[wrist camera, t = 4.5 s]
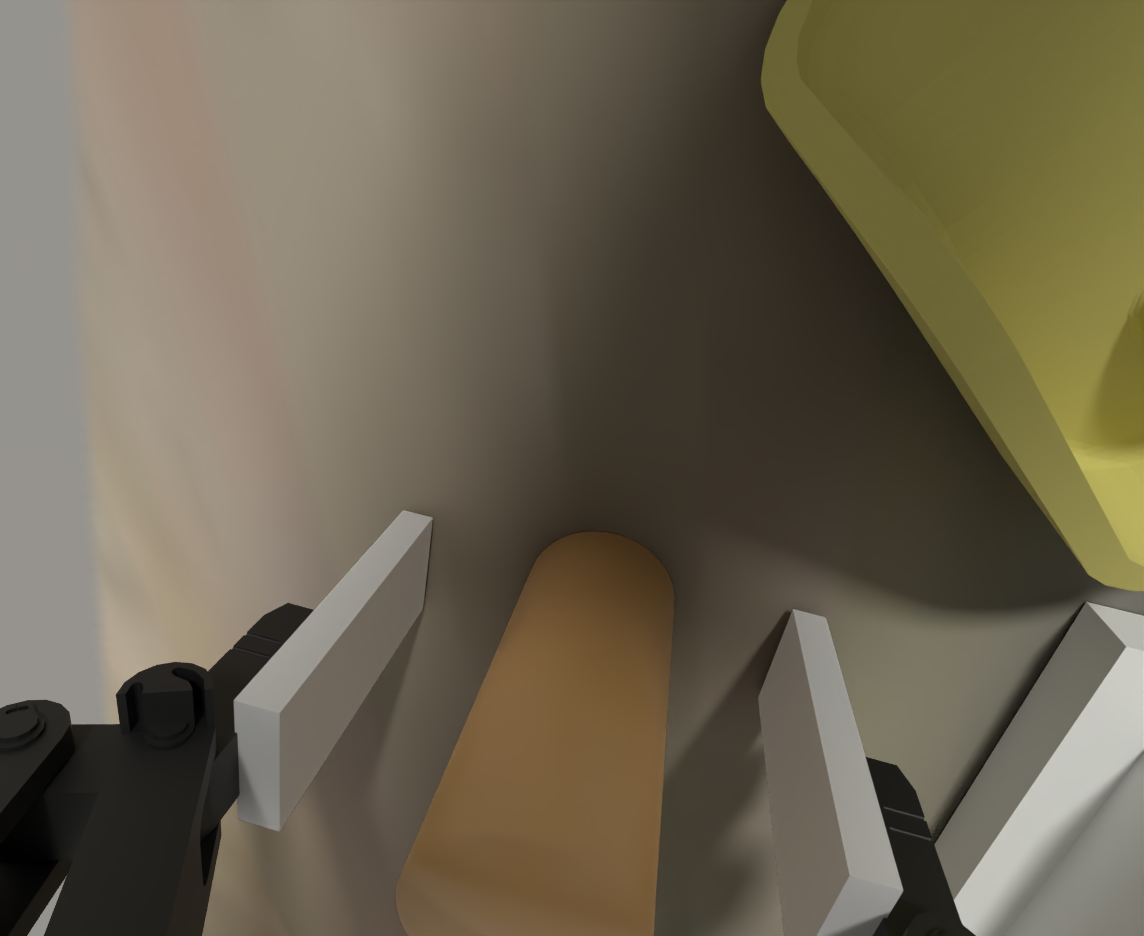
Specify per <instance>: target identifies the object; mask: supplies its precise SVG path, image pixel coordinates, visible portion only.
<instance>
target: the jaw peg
mask: <svg viewBox="0 0 1144 936" xmlns="http://www.w3.org/2000/svg"><path fill="white" fill-rule="evenodd" d="M674 605H675V596H674V589H673V585H672V582H671V579H670V577H669V574H668V573H667V571H666V569H665V568H664V566H663V565H662V563H661V562H660V561H659V560H658V559H657V558H656V557H655V556H654V555H653V554H652V553H651V552H650V551H649V550H647V549H646V548H645V547H644V546H642V545H640V544H639V543H637V542H635V541H633V540H631V539H629V538H626V537H624V536H620V535H617V534H613V533H608V532H598V531H590V532H581V533H575V534H572V535H568V536H566V537H563V538H561V539H559V540H557V541H556V542H554V543H552V544H551V545H550V546H548V547H547V548H546V549H545V550H544V551H543V552H542V553H541V554H540V555H539V556H538V558H537V560H536V561H535V563H534V565H533V567H532V569H531V571H530V574H529V576H528V578H527V581H526V583H525V585H524V588H523V590H522V592H521V595H520V597H519V599H518V602H517V604H516V606H515V609H514V611H513V613H512V616H511V618H510V620H509V623H508V625H507V627H506V630H505V632H504V634H503V637H502V639H501V641H500V644H499V646H498V648H497V651H496V653H495V655H494V658H493V660H492V662H491V665H490V667H489V669H488V672H487V674H486V676H485V679H484V681H483V683H482V686H481V688H480V690H479V693H478V695H477V697H476V700H475V702H474V704H473V707H472V709H471V711H470V714H469V716H468V718H467V720H466V723H465V725H464V727H463V730H462V732H461V734H460V737H459V739H458V741H457V744H456V746H455V748H454V751H453V753H452V755H451V758H450V760H449V762H448V765H447V767H446V769H445V772H444V774H443V776H442V779H441V781H440V783H439V786H438V788H437V790H436V793H435V795H434V797H433V800H432V802H431V804H430V807H429V809H428V811H427V814H426V816H425V818H424V821H423V823H422V825H421V828H420V830H419V832H418V835H417V837H416V839H415V842H414V844H413V846H412V849H411V851H410V853H409V856H408V858H407V860H406V863H405V865H404V867H403V870H402V872H401V874H400V877H399V879H398V882H397V887H396V899H395V902H396V907H397V913H398V915H399V918H400V921H401V924H402V926H403V928H404V929H405V931H406V933H407V935H408V936H654V921H655V905H656V889H657V874H658V858H659V842H660V826H661V810H662V795H663V779H664V763H665V747H666V731H667V716H668V700H669V684H670V668H671V652H672V637H673V621H674Z"/></svg>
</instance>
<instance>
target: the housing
mask: <svg viewBox="0 0 1144 936" xmlns="http://www.w3.org/2000/svg"><path fill="white" fill-rule="evenodd" d="M935 848H936V851H937V854H938V857H939V859H940V862H941V865H942V868H943V871H944V874H945V877H946V879H947V882H948V885H949V888H950V891H951V894H952V897H953V900H954V902H955V905H956V908H957V911H958V914H959V917H960V920H961V922H962V924H963V925H964V926H965V927H966V928H967V929H968V930H970V931H971V932H972V933H973V934H975V935H976V936H1144V616H1142V615H1138V614H1134V613H1130V612H1126V611H1122V610H1117V609H1113V608H1109V607H1105V606H1101V605H1097V604H1093V603H1089V602H1086V603H1085V605H1084V606H1083V608H1082V610H1081V611H1080V613H1079V614H1078V616H1077V618H1076V619H1075V621H1074V622H1073V624H1072V626H1071V627H1070V629H1069V630H1068V632H1067V634H1066V635H1065V637H1064V638H1063V640H1062V642H1061V643H1060V645H1059V646H1058V648H1057V650H1056V651H1055V653H1054V654H1053V656H1052V658H1051V659H1050V661H1049V662H1048V664H1047V666H1046V667H1045V669H1044V670H1043V672H1042V674H1041V675H1040V677H1039V678H1038V680H1037V682H1036V683H1035V685H1034V686H1033V688H1032V690H1031V691H1030V693H1029V694H1028V696H1027V698H1026V699H1025V701H1024V702H1023V704H1022V706H1021V707H1020V709H1019V710H1018V712H1017V713H1016V715H1015V717H1014V718H1013V720H1012V721H1011V723H1010V725H1009V726H1008V728H1007V729H1006V731H1005V733H1004V734H1003V736H1002V737H1001V739H1000V741H999V742H998V744H997V745H996V747H995V749H994V750H993V752H992V753H991V755H990V757H989V758H988V760H987V761H986V763H985V765H984V766H983V768H982V769H981V771H980V773H979V774H978V776H977V777H976V779H975V781H974V782H973V784H972V785H971V787H970V789H969V790H968V792H967V793H966V795H965V797H964V798H963V800H962V801H961V803H960V805H959V806H958V808H957V809H956V811H955V813H954V814H953V816H952V817H951V819H950V821H949V822H948V824H947V825H946V827H945V829H944V830H943V832H942V833H941V835H940V837H939V838H938V840H937V841H936V843H935Z"/></svg>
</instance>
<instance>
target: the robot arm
mask: <svg viewBox="0 0 1144 936" xmlns="http://www.w3.org/2000/svg"><path fill="white" fill-rule="evenodd" d="M432 523H433V518H432V517H428V516H424V515H420V514H417V513H413V512H409V511H405V510H403V511H402V512H401V513H400V514H399V515H398V517H397V518H396V519H395V520H394V521H393V522H392V523H391V524H390V526H389V527H388V528H387V529H386V530H385V531H384V532H383V533H382V535H381V536H380V537H379V538H378V539H377V540H376V541H375V542H374V543H373V545H372V546H371V547H370V548H369V549H368V550H367V551H366V552H365V554H364V555H363V556H362V557H361V558H360V559H359V560H358V561H357V563H356V564H355V565H354V566H353V567H352V568H351V569H350V570H349V572H348V573H347V574H346V575H345V576H344V577H343V578H342V579H341V580H340V582H339V583H338V584H337V585H336V586H335V587H334V588H333V589H332V591H331V592H330V593H329V594H328V595H327V596H326V597H325V598H324V600H323V601H322V602H321V603H320V604H319V605H318V606H317V607H316V609H315V610H312V609H308V608H305V607H301V606H297V605H294V604H290V603H287V604H285V605H283V606H281V607H279V608H277V609H275V610H273V611H271V612H269V613H267V614H265V615H264V616H263V617H262V618H261V619H260V620H259V621H258V622H257V623H256V624H255V625H254V626H253V627H252V628H251V629H250V630H249V631H248V632H247V635H246V636H245V635H244V636H243V637H242V638H241V639H240V640H239V641H238V642H237V643H236V644H235V645H234V647H233V649H232V650H231V649H230V650H229V651H228V652H227V653H226V654H225V655H224V656H223V657H222V658H221V659H220V660H219V661H218V662H217V663H216V664H215V665H214V666H213V667H212V668H211V669H210V670H209V671H208V672H207V670H206V669H204V668H202V667H200V666H197V665H195V664H193V663H181V662H173V663H167V664H160V665H156V666H153V667H151V668H148V669H146V670H143V671H141V672H139V673H137V674H136V675H134V676H133V677H132V678H130V679H129V680H127V681H126V682H125V683H124V684H123V685H122V687H121V688H120V690H119V691H118V692H117V694H116V699H117V706H118V714H119V721H120V724H94V725H93V724H91V725H89V724H87V725H71V720H70V714H69V711H68V710H67V709H65V708H64V707H63V706H62V705H61V704H59V703H56V702H52V701H48V700H27V701H23V702H19V703H15V704H11V705H7V706H5V707H2V708H0V936H27V935H28V933H29V932H30V930H31V929H32V927H33V926H34V924H35V923H36V921H37V920H38V918H39V917H40V915H41V914H42V912H43V910H44V909H45V907H46V906H47V905H48V903H49V901H50V900H51V898H52V897H53V895H54V894H55V892H56V891H57V889H58V888H59V886H60V885H61V883H62V882H63V880H64V879H65V877H66V876H67V877H66V879H65V882H64V885H63V887H62V890H61V893H60V895H59V898H58V900H57V903H56V906H55V908H54V911H53V913H52V916H51V919H50V921H49V924H48V926H47V929H46V932H45V934H44V936H202V933H203V927H204V922H205V917H206V912H207V907H208V902H209V896H210V891H211V886H212V881H213V876H214V870H215V865H216V860H217V855H218V850H219V845H220V839H221V819H222V818H223V816H224V815H225V814H226V812H227V811H228V810H229V808H230V807H231V806H232V804H233V803H234V801H235V800H236V799H237V801H238V820H241V821H245V822H248V823H251V824H255V825H258V826H261V827H265V828H268V829H271V830H275V831H278V832H280V830H281V829H282V827H283V826H284V824H285V823H286V821H287V820H288V818H289V816H290V815H291V813H292V812H293V810H294V809H295V807H296V806H297V804H298V802H299V801H300V799H301V798H302V796H303V795H304V793H305V792H306V790H307V788H308V787H309V785H310V784H311V782H312V781H313V779H314V778H315V776H316V774H317V773H318V771H319V770H320V768H321V767H322V765H323V764H324V762H325V760H326V759H327V757H328V756H329V754H330V753H331V751H332V750H333V748H334V746H335V745H336V743H337V742H338V740H339V739H340V737H341V736H342V734H343V732H344V731H345V729H346V728H347V726H348V725H349V723H350V722H351V720H352V718H353V717H354V715H355V714H356V712H357V711H358V709H359V708H360V706H361V704H362V703H363V701H364V700H365V698H366V697H367V695H368V694H369V692H370V690H371V689H372V687H373V686H374V684H375V683H376V681H377V679H378V678H379V676H380V675H381V673H382V672H383V670H384V669H385V667H386V665H387V664H388V662H389V661H390V659H391V658H392V656H393V655H394V653H395V651H396V650H397V648H398V647H399V645H400V644H401V642H402V641H403V639H404V637H405V636H406V634H407V633H408V631H409V630H410V628H411V627H412V625H413V623H414V622H415V620H416V619H417V617H418V616H419V614H420V613H421V611H422V609H423V604H424V595H425V586H426V577H427V568H428V559H429V550H430V541H431V532H432ZM758 702H759V711H760V720H761V730H762V739H763V748H764V757H765V766H766V775H767V785H768V794H769V803H770V812H771V821H772V830H773V839H774V849H775V858H776V867H777V876H778V885H779V894H780V904H781V913H782V922H783V931H784V936H976V935H975V934H973V933H972V932H971V931H970V930H968V929H967V928H966V927H965V926H964V925H963V924H962V922H961V920H960V917H959V914H958V911H957V908H956V905H955V902H954V900H953V897H952V894H951V891H950V888H949V885H948V882H947V879H946V877H945V874H944V871H943V868H942V865H941V862H940V859H939V857H938V854H937V851H936V848H935V845H934V843H933V842H931V838H932V837H931V834H930V831H929V828H928V825H927V822H926V821H924V814H923V811H922V808H921V805H920V802H919V799H918V797H917V794H916V791H915V789H914V788H913V787H912V785H911V784H910V783H909V781H908V780H907V779H906V777H905V776H904V775H903V773H902V772H901V771H900V769H899V768H898V766H897V765H893V764H889V763H886V762H882V761H878V760H875V759H871V758H867V757H865V754H864V750H863V746H862V743H861V739H860V736H859V732H858V729H857V725H856V722H855V718H854V715H853V711H852V708H851V704H850V701H849V697H848V694H847V690H846V687H845V683H844V679H843V676H842V672H841V669H840V665H839V662H838V658H837V655H836V651H835V648H834V644H833V641H832V637H831V634H830V630H829V627H828V623H827V620H826V617H823V616H819V615H815V614H811V613H807V612H803V611H799V610H795V609H793V610H792V613H791V615H790V618H789V620H788V623H787V625H786V628H785V630H784V633H783V636H782V638H781V641H780V643H779V646H778V648H777V651H776V653H775V656H774V658H773V661H772V663H771V666H770V668H769V671H768V674H767V676H766V679H765V681H764V684H763V686H762V689H761V691H760V694H759V696H758Z"/></svg>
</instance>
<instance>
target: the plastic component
mask: <svg viewBox="0 0 1144 936" xmlns="http://www.w3.org/2000/svg"><path fill="white" fill-rule="evenodd" d="M761 85H762V90H763V95H764V101H765V106H766V108H767V110H768V111H769V113H770V114H771V116H772V117H773V119H774V120H775V122H776V123H777V125H778V126H779V128H780V129H781V131H782V132H783V134H784V135H785V137H786V138H787V139H788V141H789V142H790V144H791V145H792V146H793V148H794V149H795V151H796V152H797V153H798V155H799V156H800V157H801V159H802V160H803V161H804V163H805V164H806V165H807V167H808V168H809V169H810V171H811V172H812V173H813V175H814V176H815V178H816V179H817V180H818V182H819V183H820V184H821V186H822V187H823V189H824V190H825V192H826V193H827V194H828V196H829V197H830V199H831V200H832V201H833V203H834V204H835V206H836V207H837V208H838V210H839V211H840V213H841V214H842V215H843V217H844V218H845V220H846V221H847V223H848V224H849V225H850V227H851V228H852V230H853V231H854V232H855V234H856V235H857V237H858V238H859V240H860V241H861V243H862V244H863V246H864V247H865V249H866V250H867V252H868V253H869V254H870V256H871V257H872V259H873V260H874V262H875V263H876V265H877V266H878V268H879V269H880V271H881V272H882V274H883V275H884V277H885V278H886V279H887V281H888V282H889V284H890V285H891V287H892V288H893V290H894V291H895V293H896V294H897V296H898V297H899V299H900V300H901V302H902V303H903V305H904V307H905V308H906V310H907V311H908V313H909V314H910V316H911V317H912V319H913V320H914V322H915V323H916V325H917V327H918V328H919V330H920V331H921V333H922V334H923V336H924V337H925V339H926V340H927V342H928V343H929V345H930V346H931V348H932V350H933V351H934V353H935V354H936V356H937V357H938V359H939V360H940V362H941V363H942V365H943V366H944V368H945V370H946V371H947V373H948V374H949V376H950V377H951V379H952V380H953V382H954V383H955V385H956V386H957V388H958V389H959V391H960V393H961V394H962V396H963V397H964V399H965V400H966V402H967V403H968V405H969V406H970V408H971V409H972V411H973V413H974V414H975V416H976V417H977V419H978V420H979V422H980V423H981V425H982V426H983V428H984V429H985V431H986V432H987V434H988V436H989V437H990V439H991V440H992V442H993V443H994V445H995V446H996V448H997V449H998V451H999V452H1000V454H1001V456H1002V457H1003V458H1004V460H1005V461H1006V462H1007V464H1008V465H1009V467H1010V468H1011V469H1012V471H1013V472H1014V473H1015V475H1016V476H1017V477H1018V479H1019V480H1020V482H1021V483H1022V484H1023V486H1024V487H1025V488H1026V490H1027V491H1028V493H1029V494H1030V495H1031V497H1032V498H1033V499H1034V501H1035V502H1036V504H1037V505H1038V506H1039V508H1040V509H1041V510H1042V512H1043V513H1044V515H1045V516H1046V517H1047V519H1048V520H1049V521H1050V523H1051V524H1052V526H1053V527H1054V528H1055V530H1056V531H1057V532H1058V534H1059V535H1060V536H1061V538H1062V539H1063V541H1064V542H1065V543H1066V545H1067V546H1068V547H1069V549H1070V550H1071V552H1072V553H1073V554H1074V556H1075V557H1076V558H1077V560H1078V561H1079V563H1080V564H1081V565H1082V567H1083V568H1084V569H1085V571H1086V572H1087V574H1088V575H1089V576H1091V577H1093V578H1094V579H1096V580H1098V581H1099V582H1101V583H1103V584H1104V585H1106V586H1111V587H1116V588H1120V589H1125V590H1130V591H1144V0H787V1H786V3H785V4H784V6H783V8H782V9H781V11H780V13H779V15H778V17H777V20H776V22H775V25H774V28H773V30H772V33H771V35H770V38H769V40H768V43H767V45H766V48H765V53H764V60H763V67H762V74H761Z"/></svg>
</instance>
